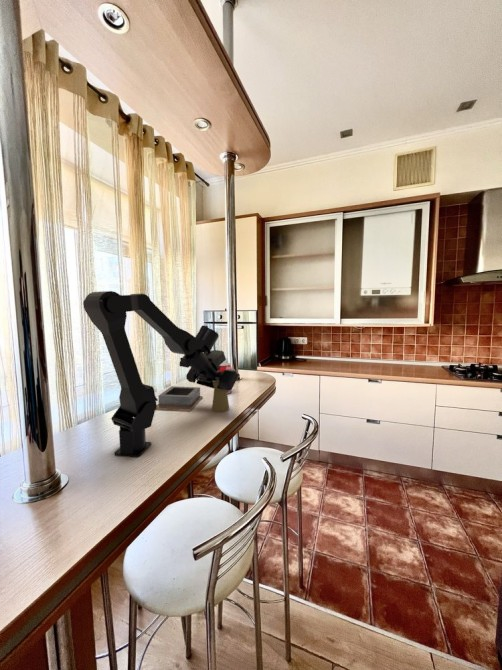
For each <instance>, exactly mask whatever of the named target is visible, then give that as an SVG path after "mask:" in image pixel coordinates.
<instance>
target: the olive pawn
mask: <svg viewBox="0 0 502 670" xmlns="http://www.w3.org/2000/svg"><path fill="white" fill-rule="evenodd" d="M218 384H219V381H218V379H217V380H216V382H214V381H213V386H214V388H213V396H212V406H211V407H212V408H211V411H213V412H215V413H223V412H224V413H225V412H228V411H229V410H230V405H229V398H228V397H229V396H228V394H227V391H224V390H221V389H218V388H217V386H218Z"/></svg>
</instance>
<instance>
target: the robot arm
mask: <svg viewBox="0 0 502 670" xmlns="http://www.w3.org/2000/svg"><path fill="white" fill-rule="evenodd" d="M83 309H84V311H85V313H86V315H87V316H88V318H89V320H90V321H91V323H92V324H93V325H94V326H95V327H96V328H97V330H99V332H100V333H101V335H102V338H103V340H104V343H105V346H106V349H107V351H108V355H109V357H110V359H111V363H112V366H113V369H114V371H115V374H116V378H117V379H118V383H119V385H120V392H119V393H120V394H119V397H118V399H119V406H118V408H117V410H116V411H115V412H114V413H113V415H112V416H111V422H112V423H113V425H114V426H118V427H119V429H118V435H119V436H118V437H119V439H118V440H119V447H118V449H117V450H116V451H114V453H113V454H114V456H120V457H121V456H124V457H136V458H138V457H141V456H142V455H143V453H144V452H145V451H146V450H147V449H148V448H149V447H150V446H151V445H152V442H151V441H146V439H147V438H146V437H147V436H146V429H148V428H150V427H152V424H153V419H154V416H155V412H156V411H157V410H156V408H157V405H158V404H157V401H158V402H159V398H157V396H156V394H155V392H156V391H155V388H154V386H152V385H147V384H145V383H144V382H143V381H142V378H141V375H140V372H139V369H138V366H137V362H136V360H135V356H134V353H133V351H132V348H131V344H130V342H129V339H128V335H127V332H126V327H125V326H126V322H127V313H128V312H134V313H136V315H138V316H139V317H140V318H141V319H142V320H144V322H146V323H147V324H148V325H149V326H150V327H151V328H152V329H153V330H155V331H156V332H157V333H158V334H159V335H160V336H161V337H162V339H163V341H164V343H165V346H166V347H167V348H168V349H169V351H170V352H172V353H173V354H178V355H183V356H182V357H180V361H179V364H178V365H179V367H182V368H190V369H189V370H188V371H187V373H186V376H185V377H186V380H187V381H188V382H190V383H193V384H195V383H196V385H200V386H204V387H207V388H209V389H210V388H211V389H214V386H213V381H214V382H216V380H217V379H218V381H219V384H218V386H217V388H218V389H221V390H224V391H227V392H229V390H231V389H232V390H233V387H234V386H235V384H236V382H237V381H238V378H239V376H240V375H239V373H238V372H237V370H235V369H232V370H229V369H226V370H225V371H222V372H217V371H218V370H220V368H221V367H220V366H219V365H221V364H222V363H223V362H225V361H226V360H227V357H226V355H225V352H224V351H223V350H218V349H215V350H212V349H213V347H214V345H216V342H217V340H218V339H219V337H220V335H219V333H218V332H217V331H215V330H214V329H212V328H210V327H208V325H201V327H200V328H199V331H198V332H197V334H196V335H195V336H194V335H192V334H191V333H190V332H188V331H186V330H185V329H182V328H180V327H178V326H177V324H175V323H174V322H173V321H172V320H171V318H169V317H168V316H167V315H166V314H165V313H164V312H163V311H162V310H161V309H160V308H159V307H158V306H157V305H156V303H154V302H153V301H152V299H151V298H150V297H149V296H148V295H147V294H146V293H131V294H123V295H122V294H119V293H118V292H116V291H112V290H105V291H92V292H90V293H88V294H87V295H86V296H85V298H84V300H83Z"/></svg>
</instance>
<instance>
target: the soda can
mask: <svg viewBox="0 0 502 670" xmlns="http://www.w3.org/2000/svg"><path fill="white" fill-rule="evenodd" d="M219 366H220V367H221V368H220V370H218V371H217V372H222V371H225V370H226V369H229V370H233V368H232V365H231V363H230V362H225V361H224V362H223V363H222V364H221V365H219ZM232 391H233V388H232V389H231V390H229V392H227V395H229V394H230V393H231V392H232ZM228 393H229V394H228Z"/></svg>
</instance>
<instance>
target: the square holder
mask: <svg viewBox="0 0 502 670" xmlns="http://www.w3.org/2000/svg"><path fill="white" fill-rule="evenodd" d="M201 400H203V395H201V387H197V386H196V387H194V386H172V385H171V386H170V387H168V388H167V389H166V390H164V391H163V392H161V393H159V395H158V404H157V408H156V410H155V411H166V412H187V413H188V412H189V413H190V412H191V411H192V410H193V409H195V407H196V406H197V405H198V404H199V403H200V402H201Z"/></svg>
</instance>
